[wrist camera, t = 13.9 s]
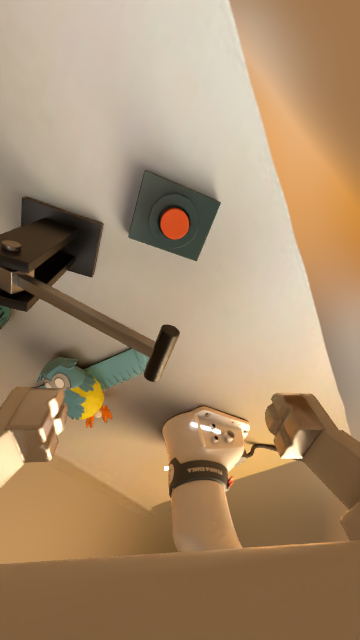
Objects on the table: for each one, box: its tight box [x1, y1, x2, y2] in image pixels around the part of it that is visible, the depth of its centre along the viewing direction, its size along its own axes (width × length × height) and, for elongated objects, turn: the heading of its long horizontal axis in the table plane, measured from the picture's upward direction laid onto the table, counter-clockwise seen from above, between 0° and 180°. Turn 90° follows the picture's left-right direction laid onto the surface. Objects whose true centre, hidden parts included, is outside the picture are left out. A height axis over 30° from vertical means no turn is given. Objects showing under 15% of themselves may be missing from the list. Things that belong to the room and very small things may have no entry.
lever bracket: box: [0, 197, 103, 312], centre depth 27 cm, size 10×8×16 cm
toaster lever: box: [0, 266, 180, 382], centre depth 21 cm, size 18×5×2 cm, turn 70°
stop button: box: [160, 207, 189, 239], centre depth 30 cm, size 4×4×2 cm
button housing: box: [128, 170, 221, 261], centre depth 32 cm, size 10×8×4 cm
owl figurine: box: [37, 348, 149, 428], centre depth 44 cm, size 28×9×15 cm
